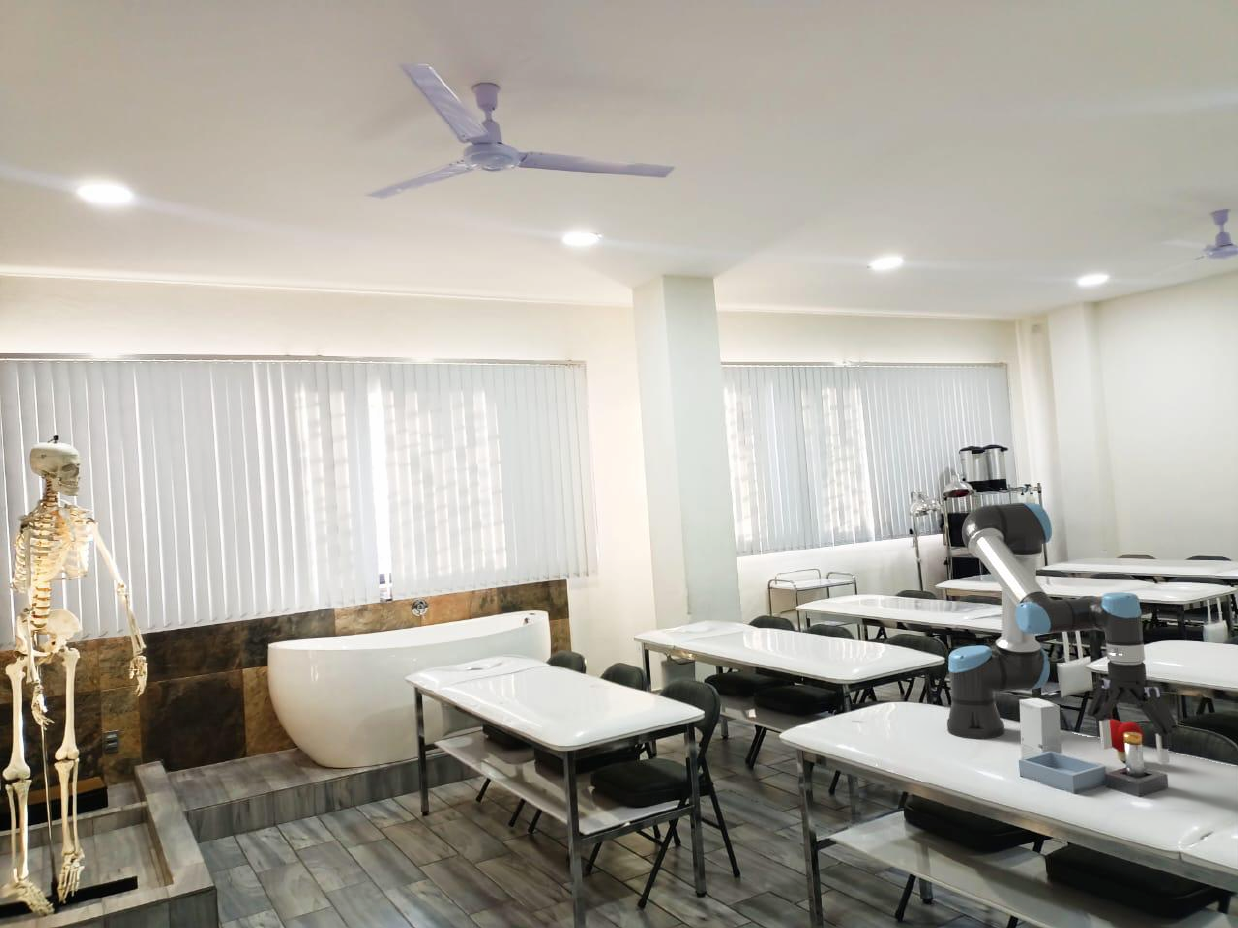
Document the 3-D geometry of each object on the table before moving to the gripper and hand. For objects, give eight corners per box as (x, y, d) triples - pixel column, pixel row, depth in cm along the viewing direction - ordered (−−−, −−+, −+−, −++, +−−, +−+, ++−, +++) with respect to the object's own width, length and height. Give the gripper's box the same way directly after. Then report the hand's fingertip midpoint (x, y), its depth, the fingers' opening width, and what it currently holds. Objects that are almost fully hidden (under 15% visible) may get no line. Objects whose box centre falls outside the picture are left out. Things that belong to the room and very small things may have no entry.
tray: (1020, 776, 211) (1018, 759, 211) (1052, 767, 215) (1050, 750, 215) (1073, 793, 197) (1072, 775, 197) (1107, 783, 202) (1105, 766, 202)
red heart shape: (1099, 762, 216) (1095, 721, 217) (1108, 754, 221) (1104, 715, 222) (1141, 769, 210) (1137, 727, 210) (1149, 761, 215) (1146, 720, 215)
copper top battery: (1124, 786, 199) (1119, 733, 200) (1134, 783, 201) (1130, 730, 201) (1139, 791, 196) (1134, 737, 197) (1149, 787, 198) (1145, 734, 198)
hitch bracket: (1105, 786, 200) (1104, 773, 200) (1134, 777, 204) (1133, 765, 204) (1139, 796, 193) (1138, 783, 193) (1168, 787, 197) (1167, 774, 197)
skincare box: (1021, 757, 224) (1016, 699, 224) (1041, 754, 225) (1036, 696, 226) (1044, 767, 216) (1039, 706, 216) (1065, 763, 217) (1060, 703, 218)
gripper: (1066, 656, 209) (1074, 745, 208) (1169, 672, 187) (1178, 772, 186) (1087, 652, 212) (1095, 740, 212) (1191, 667, 190) (1200, 766, 189)
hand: (1134, 755), depth 199 cm, fingers open, 13 cm apart
